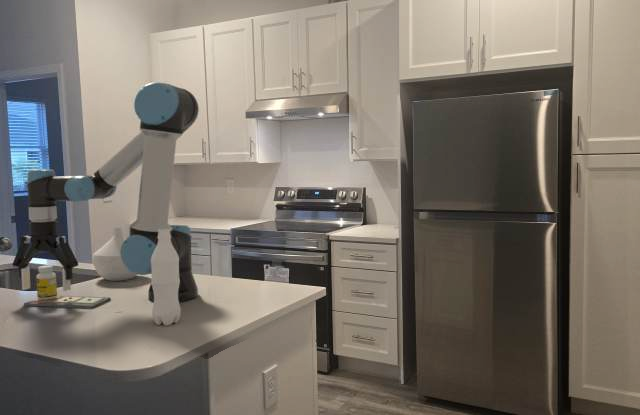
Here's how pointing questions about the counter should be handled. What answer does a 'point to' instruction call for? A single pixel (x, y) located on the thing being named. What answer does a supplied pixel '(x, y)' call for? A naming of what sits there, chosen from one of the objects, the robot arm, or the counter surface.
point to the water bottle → (165, 280)
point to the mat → (70, 302)
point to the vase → (112, 259)
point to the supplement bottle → (46, 283)
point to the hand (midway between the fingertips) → (46, 289)
